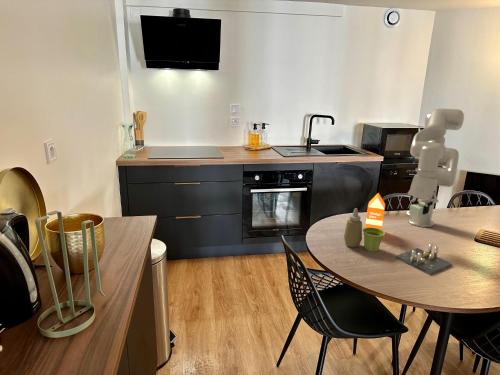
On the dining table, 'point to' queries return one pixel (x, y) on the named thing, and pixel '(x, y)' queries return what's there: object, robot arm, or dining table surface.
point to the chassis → (424, 260)
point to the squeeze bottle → (353, 230)
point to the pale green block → (418, 209)
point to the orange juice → (375, 212)
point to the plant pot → (372, 238)
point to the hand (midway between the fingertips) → (419, 211)
